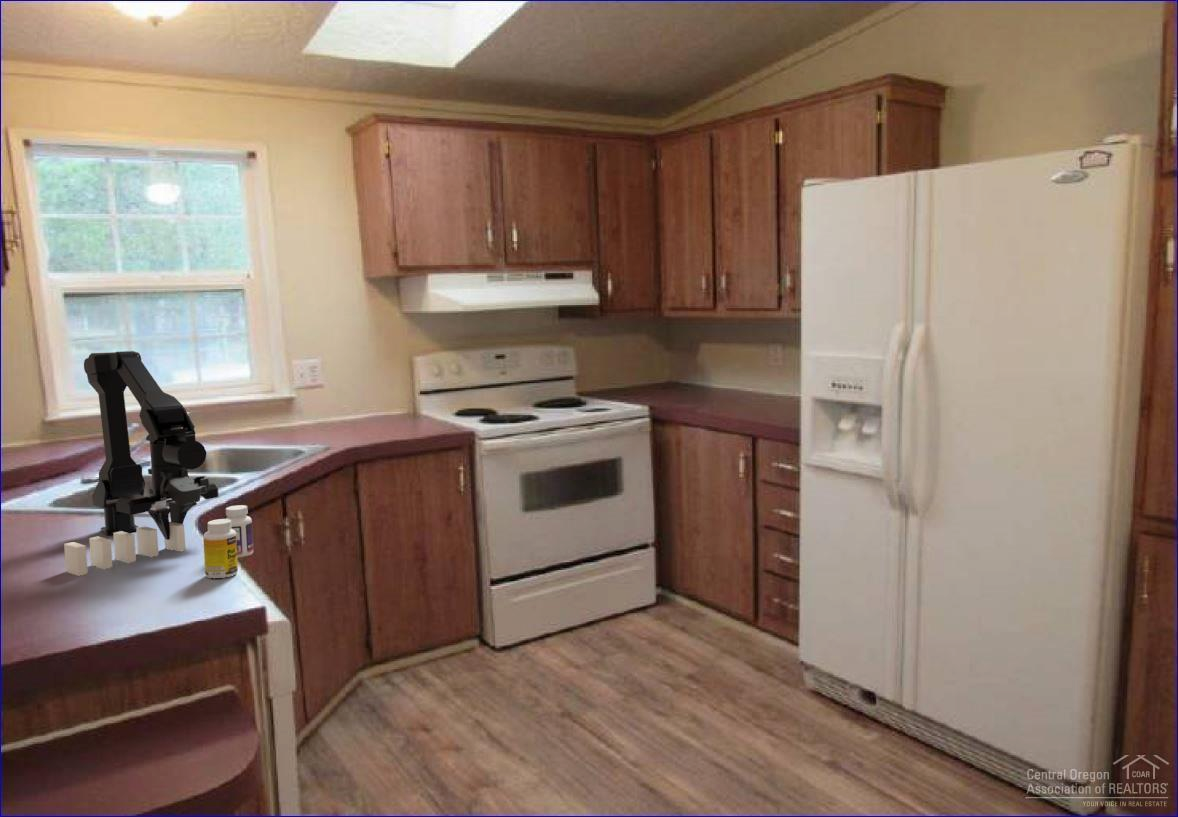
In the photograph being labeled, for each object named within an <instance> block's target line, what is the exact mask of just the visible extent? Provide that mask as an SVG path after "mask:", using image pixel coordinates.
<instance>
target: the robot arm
mask: <svg viewBox="0 0 1178 817" xmlns="http://www.w3.org/2000/svg"><path fill="white" fill-rule="evenodd" d="M83 370H84V372H85V374H86V377H87V381H88V384H89V385H90V386H91V387H92V388H93V390H94V391H95V392H96V393H97V394H98V402H99V411H100V419H101V428H102V437H103V447H104V452H105V453H104V454H105V460H104V462H103V464H102V466H101V468H100V470H99V472H98V482H97V484H96V487H95V488H94V491H93V493H92V496H91V500H92V502H93V506H95V507H98V508H101V509H103V512H104V513H103V514H104V526H102V527H100V530H101V531H102V532H103V533H104V534H105V535H106V534H107V535H106V536H113V535H112V534H113V533H115V532H120V531H123V532H127V533H130V532H137V531H136V528H138V527H139V526H138V525H136V524H135V522H136V521H135V515H138V514H144V513H148V514H149V515H150V517H151V518H152V519H153V521H154V523H155V525H156V526H157V527H158V530H159V531H160V533H161V534H162V536H163V539H164V540H165V539H167V540H169V539H170V527H169V522H176V523H180V524H184V522H185V519H186V516H187V514H188V512H189V511H190V510H191V509H192V508H193V507H195V506H196V505H197V504H198V503H199V502H200V500H201V497H202V498H203V499H204V500H210V499H215V498H219V497H220V495H219V494H220V493H219V487H218V486H217V485H216V484H215V483H211V482H209V478H208V476H206V475H200V476H196V477H192V478H191V477H190V476H189V471H188V470H195V469H198V468H199V467H201V466H202V465H203V464H204V462H205V461H206V458H207V450H206V449H205V446H204V445H203V443H201V442H200V441H198V440H196V431H195V425H194V423H193V421H192V420H191V419H190V418H191V417H190V416H189V414H188V412H187V410H186V408H185V407H184V405H183V404H182V403H181V402H180V401H179V400H178V399H177V398H176V397H175V396H174V395H171V394H168V393H166V392H164V391H163V390H162V388H161V387H160V385H159V384H158V383H157V380H155V378H154V377H153V375H152V374H151V373H150V371H149V370H148V369H147V367H146V366H145V364H144V363H143V360H142V357H141V354H140V353H139V351H138V352H137V351H134V350H129V351H127V350H125V351H115V352H92V353H90V354H89V355H88V357H87V358H85V359H84V361H83ZM127 388H128V389H129V391H130V392H131V394H132V395H133V397H134V398H135V399H136V401H137V403H138V404H139V406H140V410H139V418H140V421H141V424H142V426H143V427H144V429H145V431H146V432H147V433H148V434H147V436H146V437H145V440H146V441H147V442H149V447H150V451H149V452H150V466H151V467H150V468H148V469H147V472H148V473H147V474H148V475H151V480H152V482H151V483H152V487H151V488H148V489H149V490H148V491H149V495H150V496H147V495H145V488H146V482H145V479H144V475H143V467H142V465H141V464H138V463H137V462H136V461H135V460H134V459H133V458H132V453H131V444H130V437H129V428H128V419H127V418H128V417H127V411H126V409H127V408H126V400H125V391H126V389H127ZM167 503H168V507H167Z"/></svg>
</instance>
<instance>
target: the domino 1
mask: <svg viewBox="0 0 1178 817" xmlns="http://www.w3.org/2000/svg"><path fill="white" fill-rule="evenodd" d="M63 548H64V561H65V573H69V574H72V575H74V576H78V577H81V576H84V574H85V575H88V574H87V573H89V572H88V571H89V570H88V558H87V545H85V544H82V543H79V542H74V541H71V542H66V543H63ZM80 575H81V576H80Z"/></svg>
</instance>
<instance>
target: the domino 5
mask: <svg viewBox="0 0 1178 817" xmlns="http://www.w3.org/2000/svg"><path fill="white" fill-rule="evenodd" d="M169 527H170V539H169V540H167V539H165V538H164V549H165V548H168V549H167V550H169V549H172V550H176V551H180V552H182V551H181V550H184V551H186V534H185V524H184V523H183V524H180V523H176V522H171V521H169ZM172 550H171V551H172ZM176 551H175V552H176Z"/></svg>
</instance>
